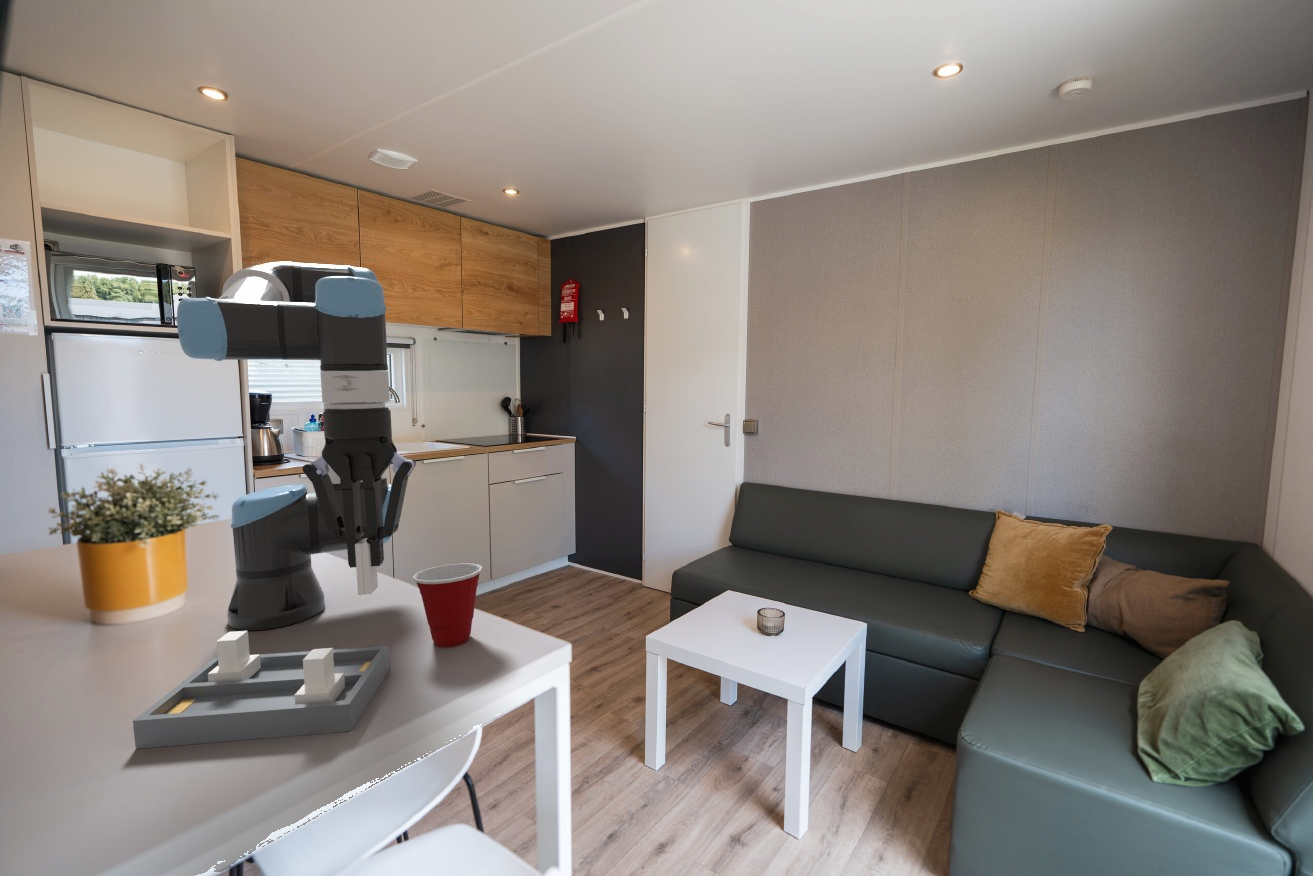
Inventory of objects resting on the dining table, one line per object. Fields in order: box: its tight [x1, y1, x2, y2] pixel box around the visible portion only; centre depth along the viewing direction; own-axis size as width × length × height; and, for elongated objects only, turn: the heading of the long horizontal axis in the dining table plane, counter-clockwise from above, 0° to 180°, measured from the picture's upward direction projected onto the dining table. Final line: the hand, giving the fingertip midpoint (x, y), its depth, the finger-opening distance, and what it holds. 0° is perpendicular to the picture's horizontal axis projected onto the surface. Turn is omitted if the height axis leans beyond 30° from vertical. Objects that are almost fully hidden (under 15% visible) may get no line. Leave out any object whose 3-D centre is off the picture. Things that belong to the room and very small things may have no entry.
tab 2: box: [294, 647, 345, 704], centre depth 77 cm, size 5×4×6 cm
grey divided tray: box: [132, 645, 391, 750], centre depth 80 cm, size 16×24×4 cm, turn 98°
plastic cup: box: [412, 562, 483, 648], centre depth 98 cm, size 11×11×12 cm
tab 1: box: [208, 630, 261, 682], centre depth 82 cm, size 5×4×6 cm
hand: (368, 590), depth 76 cm, fingers closed
